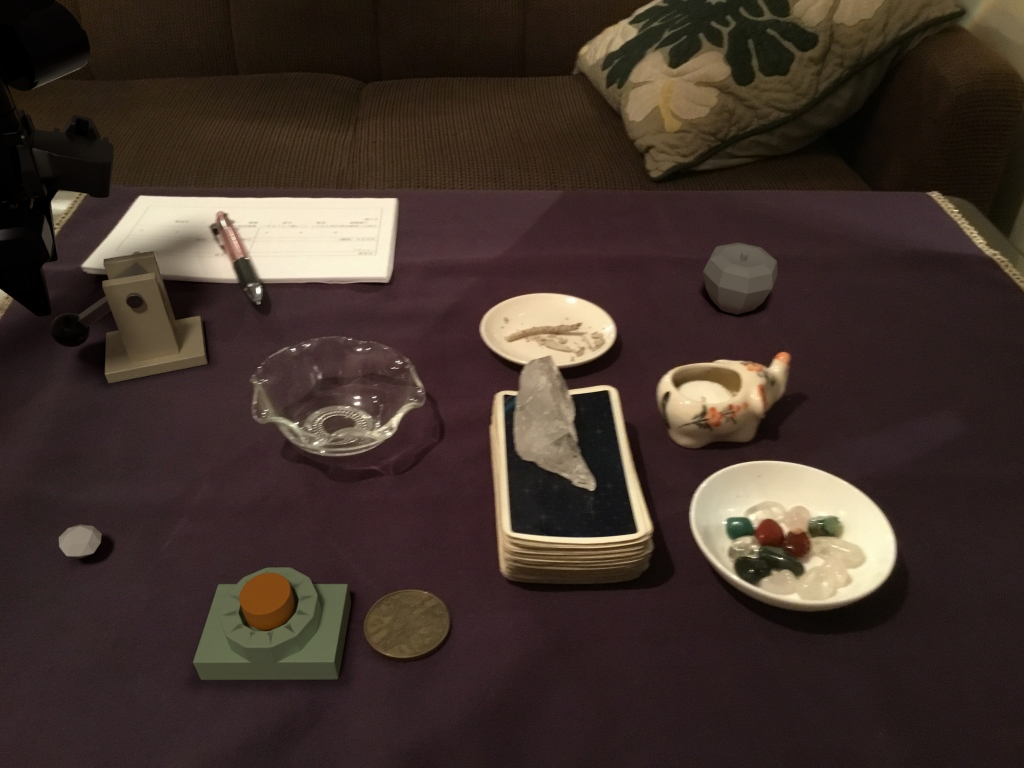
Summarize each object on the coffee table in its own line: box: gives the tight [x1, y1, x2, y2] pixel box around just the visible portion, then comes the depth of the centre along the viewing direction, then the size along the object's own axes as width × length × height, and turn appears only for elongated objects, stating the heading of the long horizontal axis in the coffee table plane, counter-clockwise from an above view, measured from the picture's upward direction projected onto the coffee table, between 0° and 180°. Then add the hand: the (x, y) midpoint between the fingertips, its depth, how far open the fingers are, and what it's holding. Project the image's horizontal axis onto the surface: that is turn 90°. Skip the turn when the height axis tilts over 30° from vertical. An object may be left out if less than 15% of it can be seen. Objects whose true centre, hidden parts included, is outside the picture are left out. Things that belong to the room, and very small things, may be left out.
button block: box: [192, 566, 352, 681], centre depth 53 cm, size 9×6×4 cm
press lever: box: [50, 262, 148, 348], centre depth 73 cm, size 10×3×3 cm, turn 110°
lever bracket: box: [101, 250, 209, 384], centre depth 75 cm, size 9×7×10 cm
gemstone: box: [58, 523, 102, 559], centre depth 58 cm, size 3×3×3 cm
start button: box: [239, 573, 295, 630], centre depth 51 cm, size 3×3×2 cm
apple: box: [702, 242, 778, 315], centre depth 84 cm, size 8×8×7 cm
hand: (48, 286), depth 69 cm, fingers open, 9 cm apart
